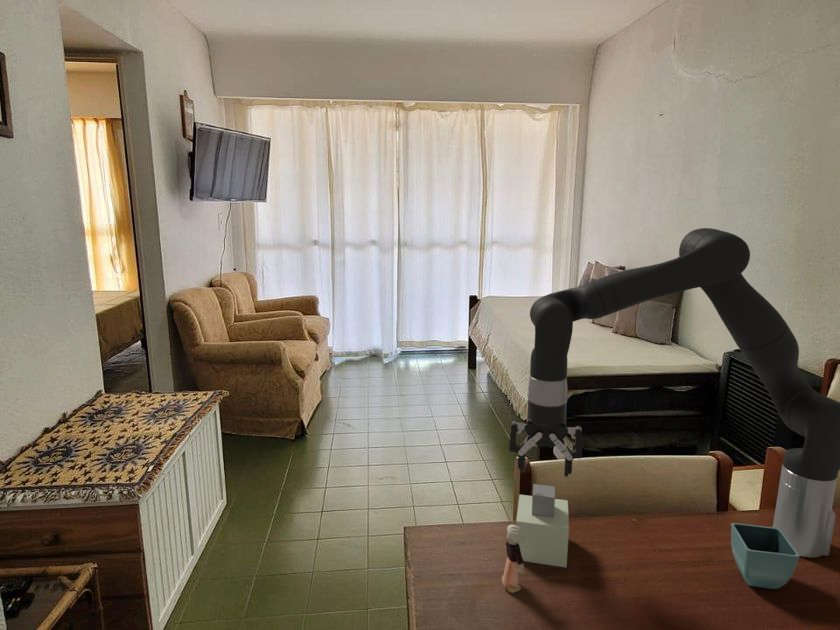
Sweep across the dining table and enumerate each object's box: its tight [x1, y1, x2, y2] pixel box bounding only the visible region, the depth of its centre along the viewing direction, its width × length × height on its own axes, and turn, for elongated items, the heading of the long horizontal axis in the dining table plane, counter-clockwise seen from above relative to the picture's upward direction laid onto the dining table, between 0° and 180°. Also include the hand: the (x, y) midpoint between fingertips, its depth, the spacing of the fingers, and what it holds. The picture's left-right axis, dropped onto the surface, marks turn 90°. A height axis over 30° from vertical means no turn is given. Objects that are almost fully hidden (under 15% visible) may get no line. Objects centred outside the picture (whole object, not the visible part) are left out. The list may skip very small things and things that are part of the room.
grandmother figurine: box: [500, 524, 525, 594], centre depth 100 cm, size 8×4×13 cm, turn 23°
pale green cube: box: [515, 483, 570, 568], centre depth 111 cm, size 10×10×13 cm
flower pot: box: [730, 522, 801, 590], centre depth 102 cm, size 9×9×9 cm
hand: (544, 472), depth 109 cm, fingers open, 8 cm apart
